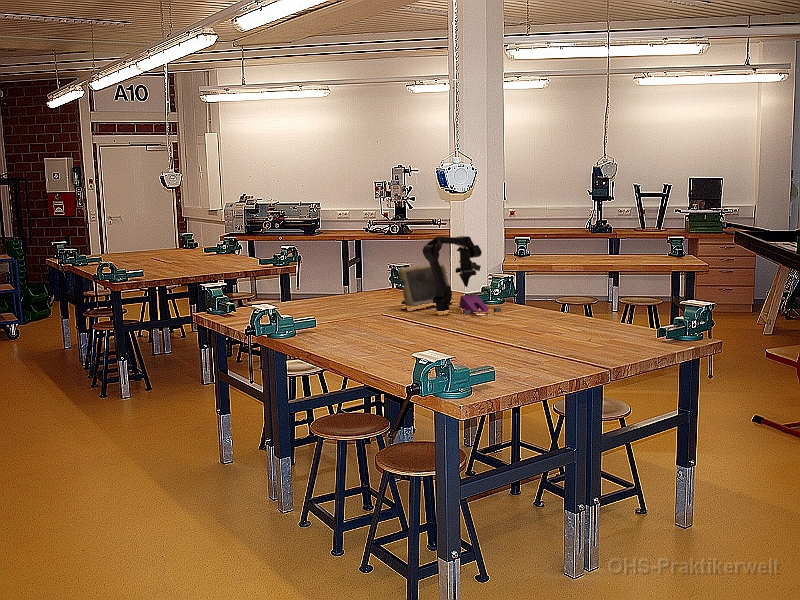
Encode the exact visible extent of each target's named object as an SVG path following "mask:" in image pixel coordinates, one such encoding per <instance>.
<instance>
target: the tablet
mask: <svg viewBox="0 0 800 600" xmlns="http://www.w3.org/2000/svg"><path fill="white" fill-rule="evenodd" d="M439 264H440V268H441V271H442V274H443V277H444V281H445V284H446V285H449V286H450V283H449V279H448V274H447V270H446V266H445V265H444V263H443V262H442V261H439ZM397 271H398V274H399V277H400V280H401V281H402V283H403V287H402V293H403V299H404V300H401V302H400V304H405V305H406V306H410V307H411V306H418V305H422V304H429V303H433V298H434V297H435V295H436V287H437V286H436V282H435V279H434V276H433V273H432V269H431V266H430V263H429V264H424V265H417V266H407V267H404V266H401V267H400V268H398V270H397ZM451 299H452V300H453V296H452V297H451Z"/></svg>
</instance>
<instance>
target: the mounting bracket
mask: <svg viewBox="0 0 800 600" xmlns="http://www.w3.org/2000/svg"><path fill="white" fill-rule="evenodd" d="M460 308H462V309H465V310H470V311H471V313H472V312H479V313H480V312H487V311H488V312H489V307H488V306H487V304H486V303H484V301H483V300H482V299H481V298H480V297H479V296H478V295H477V293H472V294H466V295H460V299H459V309H460ZM479 308H480V309H481V310H482V311H481V310H480V311H479V310H478V309H479Z"/></svg>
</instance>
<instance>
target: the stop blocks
mask: <svg viewBox="0 0 800 600" xmlns="http://www.w3.org/2000/svg"><path fill="white" fill-rule="evenodd" d="M494 312H501V313H502V307H500V306H496V307H493V313H494ZM471 313H472V312H471V311H470V310H463V313H462V315H463V314H465V315H470V314H471Z"/></svg>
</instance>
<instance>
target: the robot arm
mask: <svg viewBox="0 0 800 600" xmlns="http://www.w3.org/2000/svg"><path fill="white" fill-rule="evenodd" d="M444 244H446V245H447V244H448V245H455V246H457V247H458V248H457V250H456V252H459V260H458V263H459V266H460V267H459V266H458V267H456V268H455V270H454V271H455V273H456V274H458V276H459V277H460V279H461V281H462V283H463V285H464V287H465V288H467V287H469V286H468V285H469V282H470V278H471V277H473V276H477V272H480V270H481V267H482V266H481V265H479V264H477V262H475V261H472V260H471V259H473V258H480V257H481V256H482V252H483V251H482V249H481V248H480V246H479V244H474V241H472V238H471V237H470V236H466V235H463V236H462V235H459V236H455V237H451V236H443V235H437V236H434V238H433V239H432V240H430V241H428V243H426V244H425V245H424V246H423V248H422V254H423V256H424V258H425V259H426V260H427V262H428V263H429V264H430V266H431V269H432V273H433V276H434V279H435V282H436V286H437V287H436V295H435V297H434V298H433V303H436V306H435V311H436V310H437V311H445V310H449V311H450V305H451V304H450V301H451V297H452V298H453V294H452V293H453V290H452V288H451V285H450V284H449V285H446V284H445V281H444V277H443V274H442V271H441V268H440V264H439V262H440V261H439V257H440V251H441V249H442V248H443V245H444Z"/></svg>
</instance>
